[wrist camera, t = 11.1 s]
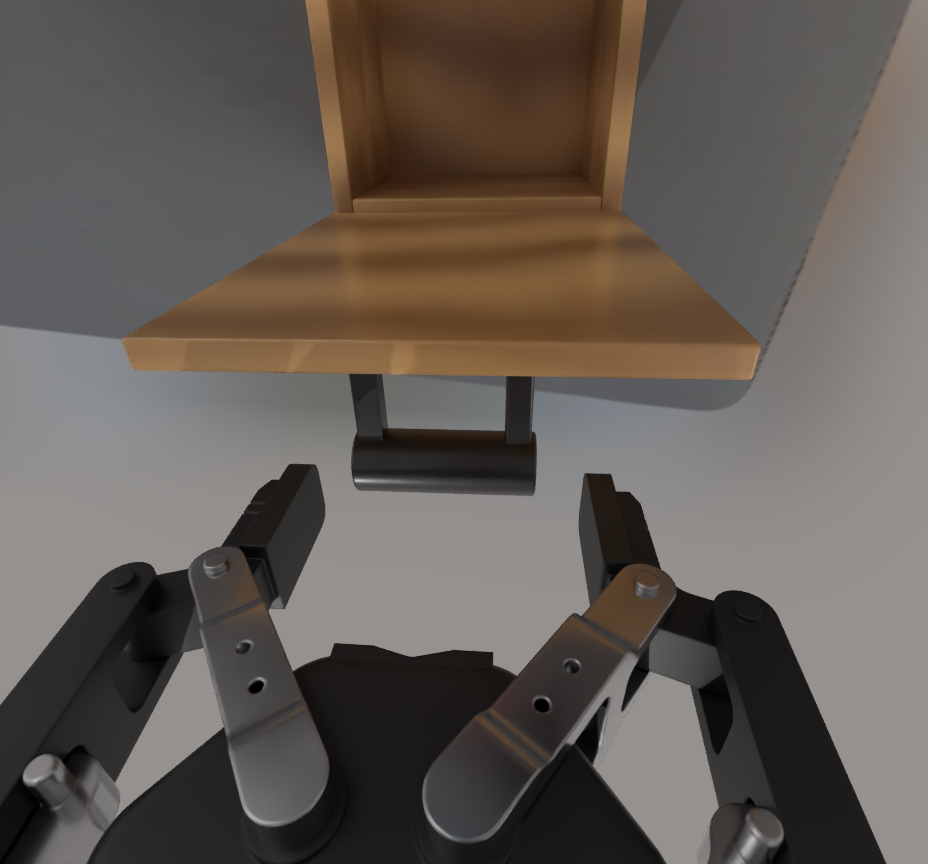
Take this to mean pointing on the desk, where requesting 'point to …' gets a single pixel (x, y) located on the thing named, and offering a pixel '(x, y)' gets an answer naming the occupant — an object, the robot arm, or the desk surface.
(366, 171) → the chest
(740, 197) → the desk surface
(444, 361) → the lid
